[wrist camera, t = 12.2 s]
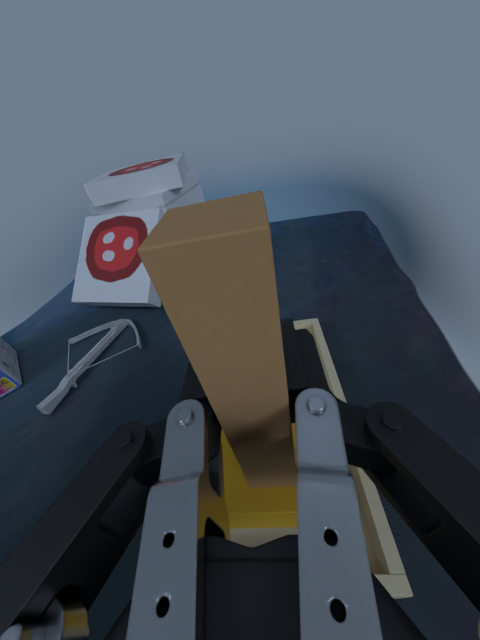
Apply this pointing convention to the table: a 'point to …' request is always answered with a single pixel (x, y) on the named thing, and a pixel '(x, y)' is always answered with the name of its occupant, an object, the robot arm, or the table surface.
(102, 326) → the crossbow
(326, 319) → the table surface
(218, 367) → the peg stand
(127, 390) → the table surface
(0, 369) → the ink cartridge box
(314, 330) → the tray
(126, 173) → the pizza boxes
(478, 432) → the table surface
